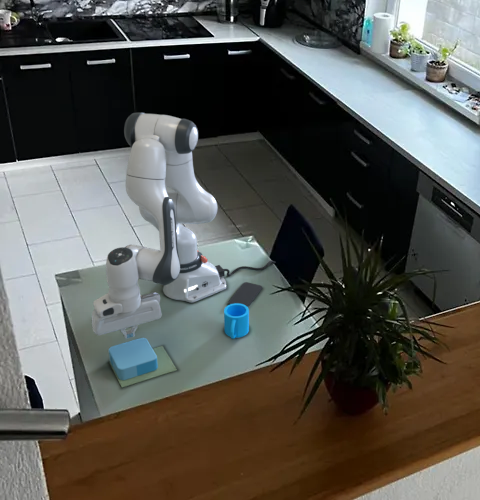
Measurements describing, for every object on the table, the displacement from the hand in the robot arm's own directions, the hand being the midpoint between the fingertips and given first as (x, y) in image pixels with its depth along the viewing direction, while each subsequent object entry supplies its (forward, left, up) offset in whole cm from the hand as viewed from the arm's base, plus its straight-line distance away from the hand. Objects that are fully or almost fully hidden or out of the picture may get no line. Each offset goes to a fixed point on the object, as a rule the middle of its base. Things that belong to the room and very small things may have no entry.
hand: (129, 336), depth 213 cm
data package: (0, -4, -7) cm, 8 cm away
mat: (-2, +5, -9) cm, 10 cm away
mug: (-34, +3, -9) cm, 35 cm away
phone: (-46, -15, -9) cm, 49 cm away
